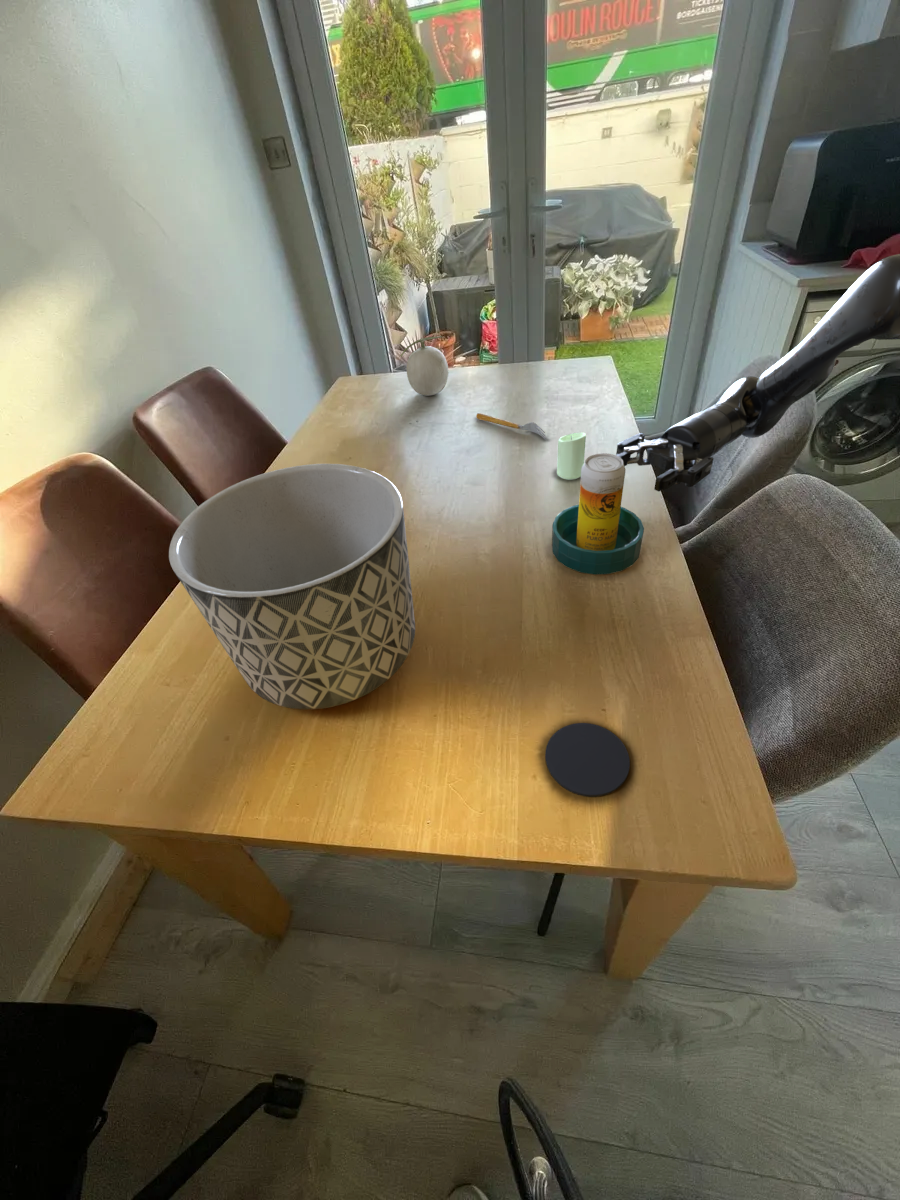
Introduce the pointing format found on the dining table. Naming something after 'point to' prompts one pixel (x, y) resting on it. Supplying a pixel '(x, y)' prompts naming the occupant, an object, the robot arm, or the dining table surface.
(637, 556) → the bowl
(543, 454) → the dining table surface
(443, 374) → the fruit
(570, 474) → the candle
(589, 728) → the coaster
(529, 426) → the fork
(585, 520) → the beer can
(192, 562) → the planter
